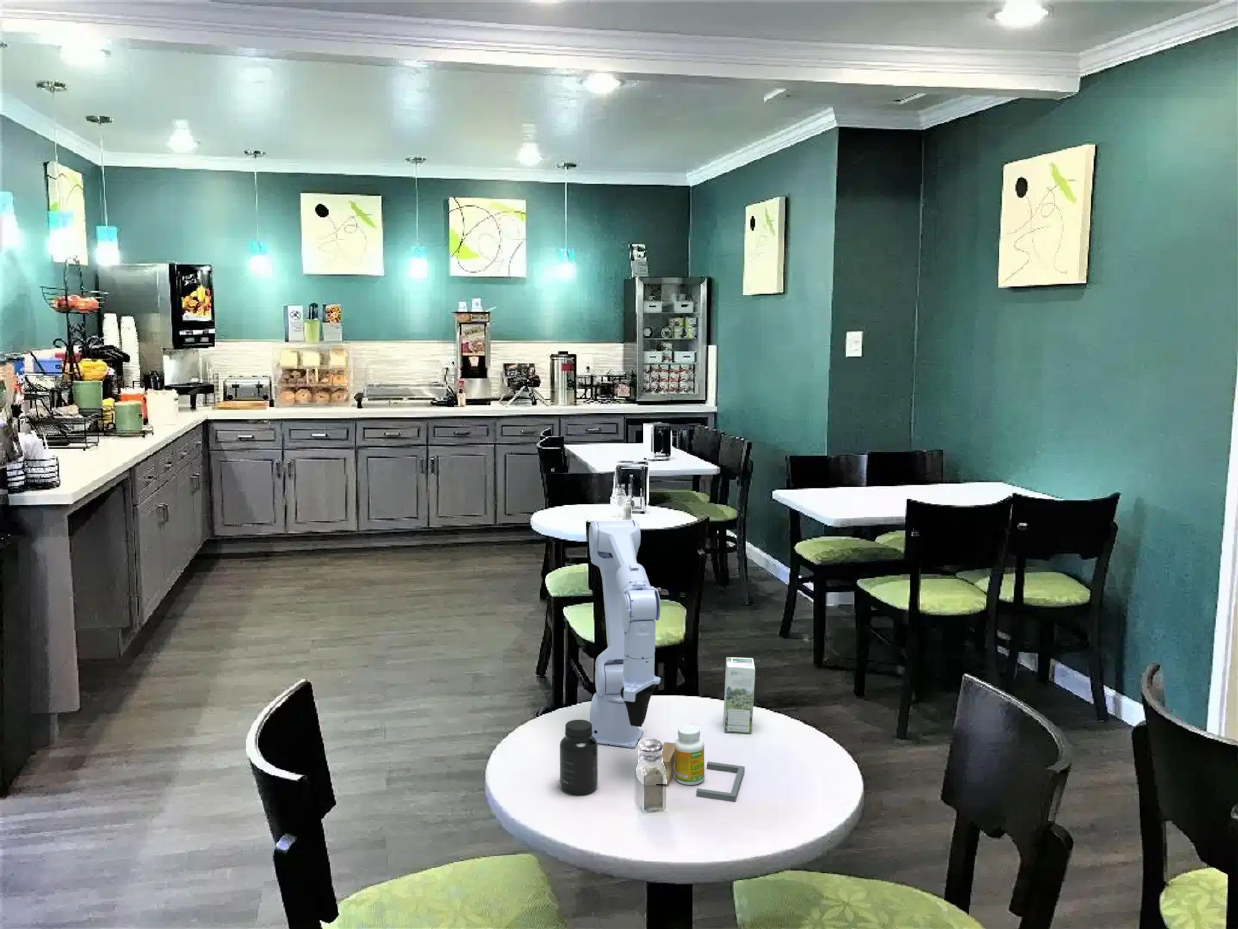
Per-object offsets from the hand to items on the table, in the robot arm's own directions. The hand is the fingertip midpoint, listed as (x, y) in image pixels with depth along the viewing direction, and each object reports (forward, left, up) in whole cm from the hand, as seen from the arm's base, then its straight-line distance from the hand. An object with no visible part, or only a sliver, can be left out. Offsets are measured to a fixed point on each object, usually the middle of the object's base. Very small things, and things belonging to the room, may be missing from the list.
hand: (637, 724), depth 186 cm
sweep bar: (+6, 0, -9) cm, 11 cm away
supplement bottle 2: (+10, 0, -10) cm, 14 cm away
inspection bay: (+16, 0, -9) cm, 18 cm away
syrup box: (+16, +25, -10) cm, 31 cm away
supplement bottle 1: (-8, -9, -10) cm, 16 cm away
